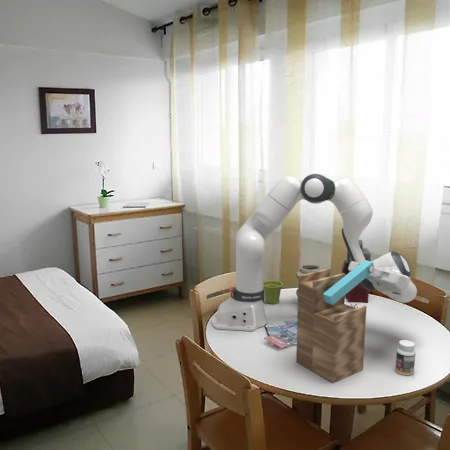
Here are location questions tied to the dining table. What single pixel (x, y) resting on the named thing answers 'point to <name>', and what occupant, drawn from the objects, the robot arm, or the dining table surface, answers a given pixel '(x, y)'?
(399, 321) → the dining table surface
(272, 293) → the plant pot
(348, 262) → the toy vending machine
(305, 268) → the apothecary jar
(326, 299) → the bar
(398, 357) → the pill bottle
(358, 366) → the stepped wooden block
